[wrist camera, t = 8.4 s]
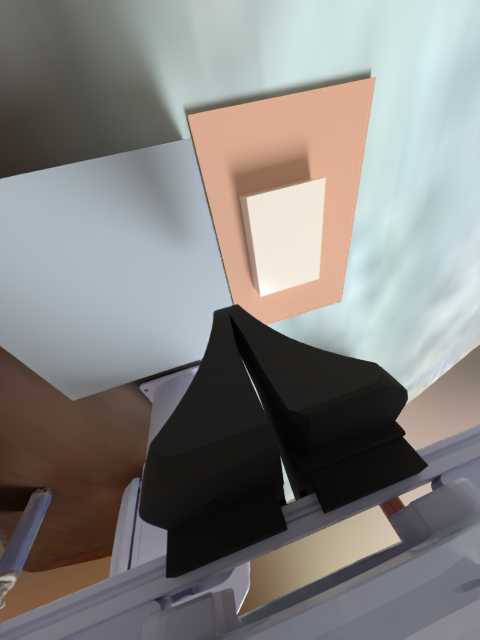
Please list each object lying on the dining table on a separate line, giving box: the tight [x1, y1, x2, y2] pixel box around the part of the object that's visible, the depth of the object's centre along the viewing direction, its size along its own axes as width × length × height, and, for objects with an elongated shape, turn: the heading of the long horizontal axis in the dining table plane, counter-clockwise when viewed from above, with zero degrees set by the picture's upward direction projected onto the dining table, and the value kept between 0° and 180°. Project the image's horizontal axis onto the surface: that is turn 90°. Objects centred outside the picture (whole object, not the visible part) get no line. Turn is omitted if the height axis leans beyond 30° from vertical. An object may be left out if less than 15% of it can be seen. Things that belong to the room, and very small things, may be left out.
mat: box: [187, 77, 376, 325], centre depth 18 cm, size 18×13×1 cm
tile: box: [239, 178, 326, 297], centre depth 17 cm, size 8×6×2 cm
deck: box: [0, 138, 232, 400], centre depth 15 cm, size 15×16×4 cm
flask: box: [0, 488, 53, 609], centre depth 28 cm, size 9×3×11 cm, turn 145°
